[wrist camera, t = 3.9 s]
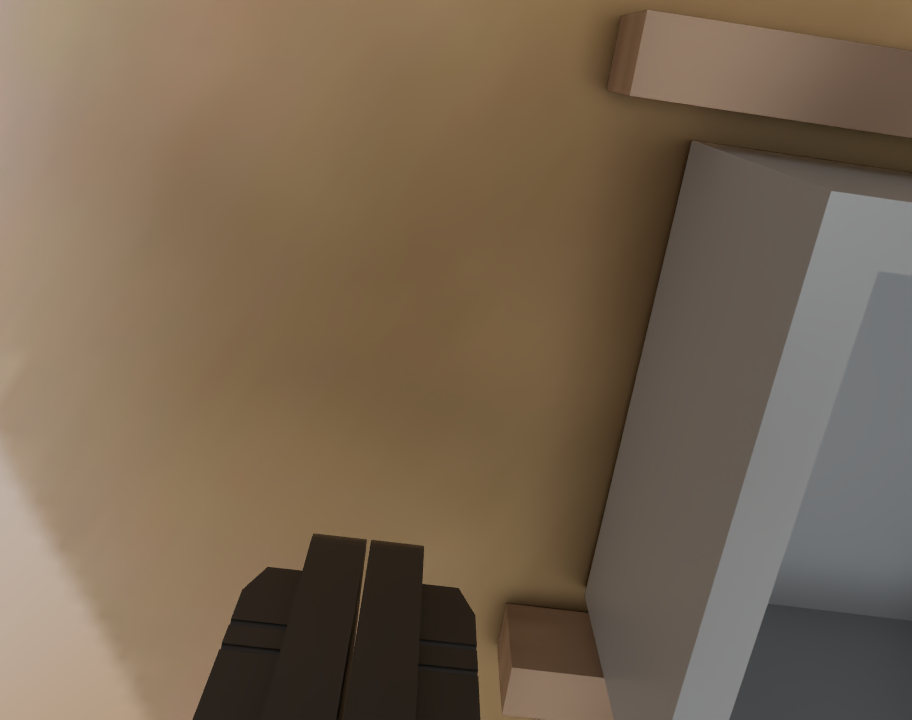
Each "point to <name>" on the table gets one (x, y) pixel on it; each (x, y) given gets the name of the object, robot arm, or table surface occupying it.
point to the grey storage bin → (767, 454)
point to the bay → (728, 88)
